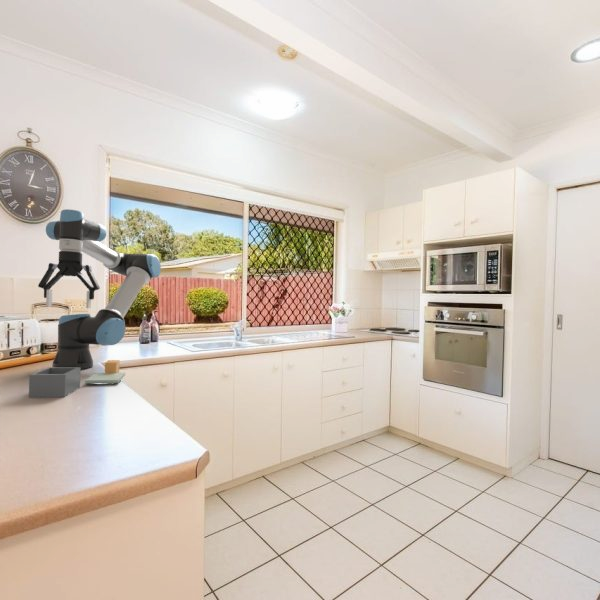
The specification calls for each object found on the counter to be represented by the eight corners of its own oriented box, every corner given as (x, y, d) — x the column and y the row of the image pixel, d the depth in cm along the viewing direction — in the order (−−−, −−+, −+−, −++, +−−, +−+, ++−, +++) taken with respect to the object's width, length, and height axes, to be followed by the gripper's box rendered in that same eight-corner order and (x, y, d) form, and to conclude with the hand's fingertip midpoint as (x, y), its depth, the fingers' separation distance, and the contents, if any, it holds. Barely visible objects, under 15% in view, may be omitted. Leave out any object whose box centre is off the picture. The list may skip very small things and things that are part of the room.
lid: (99, 375, 146) (99, 360, 146) (127, 374, 149) (128, 360, 149) (85, 386, 129) (85, 369, 129) (118, 385, 132) (118, 368, 132)
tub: (47, 387, 124) (48, 367, 124) (79, 387, 126) (80, 367, 126) (28, 397, 113) (29, 374, 113) (64, 397, 115) (65, 374, 115)
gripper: (28, 248, 133) (26, 306, 133) (103, 252, 138) (101, 308, 138) (38, 250, 140) (37, 306, 140) (109, 254, 145) (107, 308, 145)
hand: (68, 307), depth 139 cm, fingers open, 13 cm apart
